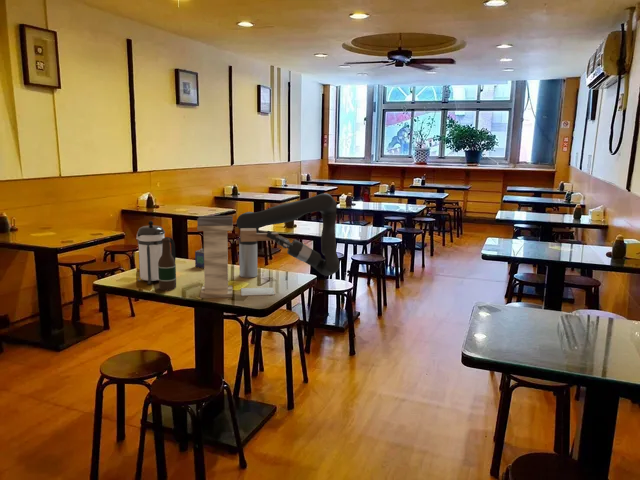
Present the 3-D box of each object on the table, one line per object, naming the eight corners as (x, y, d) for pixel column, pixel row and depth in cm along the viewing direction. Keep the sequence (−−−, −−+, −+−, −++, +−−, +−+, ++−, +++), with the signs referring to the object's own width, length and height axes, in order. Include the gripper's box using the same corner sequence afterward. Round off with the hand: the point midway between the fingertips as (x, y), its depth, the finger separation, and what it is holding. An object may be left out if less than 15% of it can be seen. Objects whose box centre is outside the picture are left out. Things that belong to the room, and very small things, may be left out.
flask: (210, 268, 272) (209, 249, 270) (206, 269, 270) (206, 250, 268) (197, 266, 277) (196, 247, 275) (193, 267, 274) (193, 248, 272)
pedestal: (201, 289, 232) (199, 215, 225) (233, 288, 234) (232, 215, 228) (198, 298, 218) (196, 219, 212) (233, 297, 221) (232, 219, 214)
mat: (241, 289, 233) (241, 288, 233) (272, 288, 236) (272, 287, 236) (241, 296, 223) (241, 295, 223) (274, 295, 225) (274, 294, 225)
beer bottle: (155, 289, 231) (153, 238, 226) (167, 285, 237) (165, 236, 233) (167, 291, 227) (165, 240, 223) (179, 287, 234) (178, 237, 230)
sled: (240, 239, 227) (240, 228, 226) (277, 238, 229) (277, 227, 228) (240, 241, 221) (240, 230, 220) (278, 240, 223) (278, 230, 223)
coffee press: (165, 285, 237) (163, 223, 231) (132, 284, 237) (129, 222, 232) (176, 276, 254) (174, 218, 248) (145, 275, 254) (143, 217, 249)
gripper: (301, 241, 236) (270, 223, 231) (305, 247, 222) (272, 228, 218) (293, 254, 236) (262, 237, 232) (297, 261, 222) (263, 243, 218)
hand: (267, 233), depth 225 cm, fingers closed on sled, 3 cm apart
